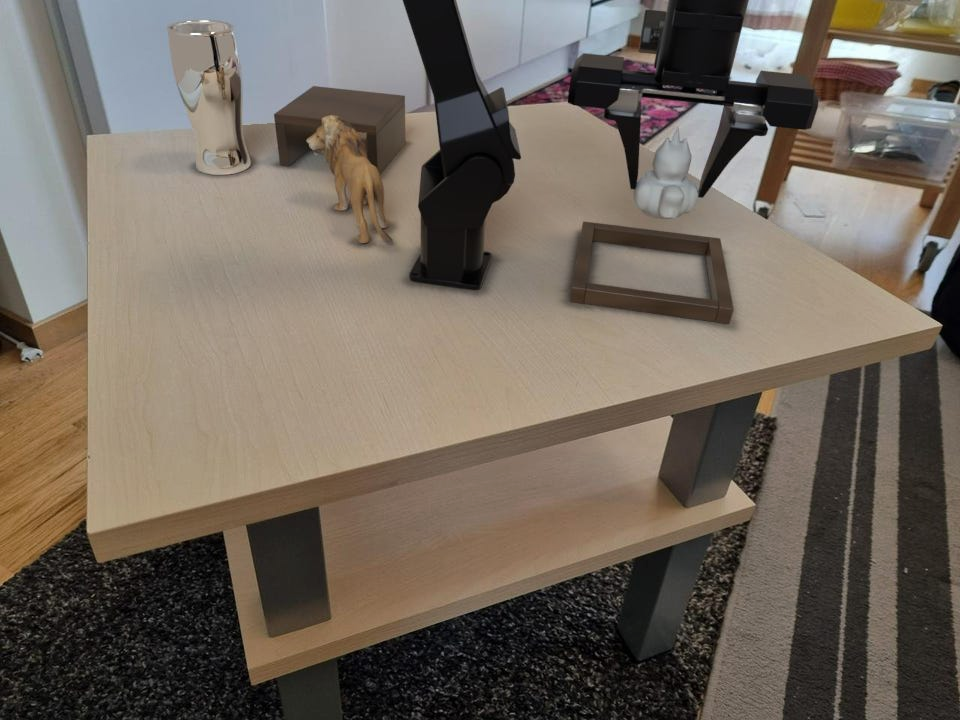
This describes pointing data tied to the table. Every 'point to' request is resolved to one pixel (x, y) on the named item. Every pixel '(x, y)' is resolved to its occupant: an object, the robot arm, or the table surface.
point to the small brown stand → (358, 108)
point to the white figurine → (667, 182)
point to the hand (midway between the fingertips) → (666, 191)
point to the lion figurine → (351, 173)
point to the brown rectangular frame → (648, 300)
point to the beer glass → (211, 92)
